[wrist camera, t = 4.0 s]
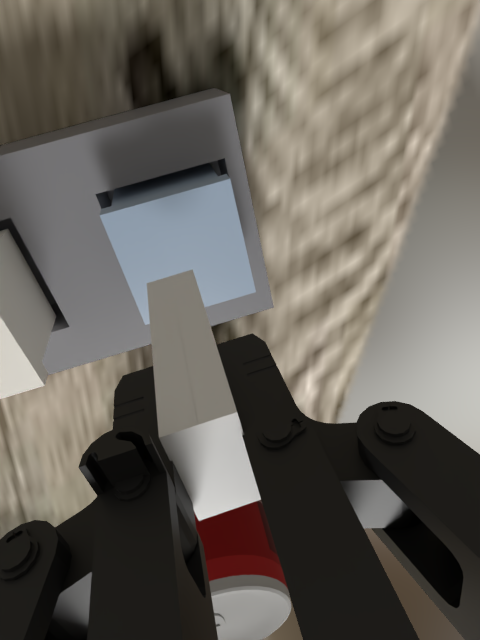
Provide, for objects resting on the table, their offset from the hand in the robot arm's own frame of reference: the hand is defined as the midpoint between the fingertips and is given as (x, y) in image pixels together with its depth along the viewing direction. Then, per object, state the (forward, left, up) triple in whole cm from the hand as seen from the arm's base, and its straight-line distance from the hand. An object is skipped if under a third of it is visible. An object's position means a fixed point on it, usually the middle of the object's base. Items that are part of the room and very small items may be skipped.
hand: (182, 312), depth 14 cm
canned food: (-3, -20, -10) cm, 23 cm away
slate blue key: (+1, 0, -9) cm, 9 cm away
